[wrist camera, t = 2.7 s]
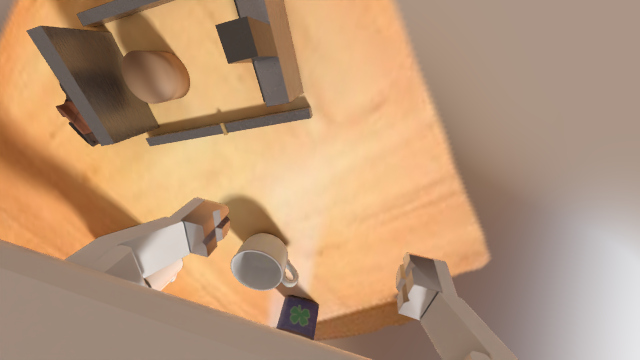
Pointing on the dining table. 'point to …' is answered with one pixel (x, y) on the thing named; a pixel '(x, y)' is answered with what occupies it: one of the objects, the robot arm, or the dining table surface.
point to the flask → (298, 316)
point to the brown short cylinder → (155, 76)
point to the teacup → (263, 263)
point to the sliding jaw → (264, 48)
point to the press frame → (119, 80)
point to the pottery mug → (77, 120)
